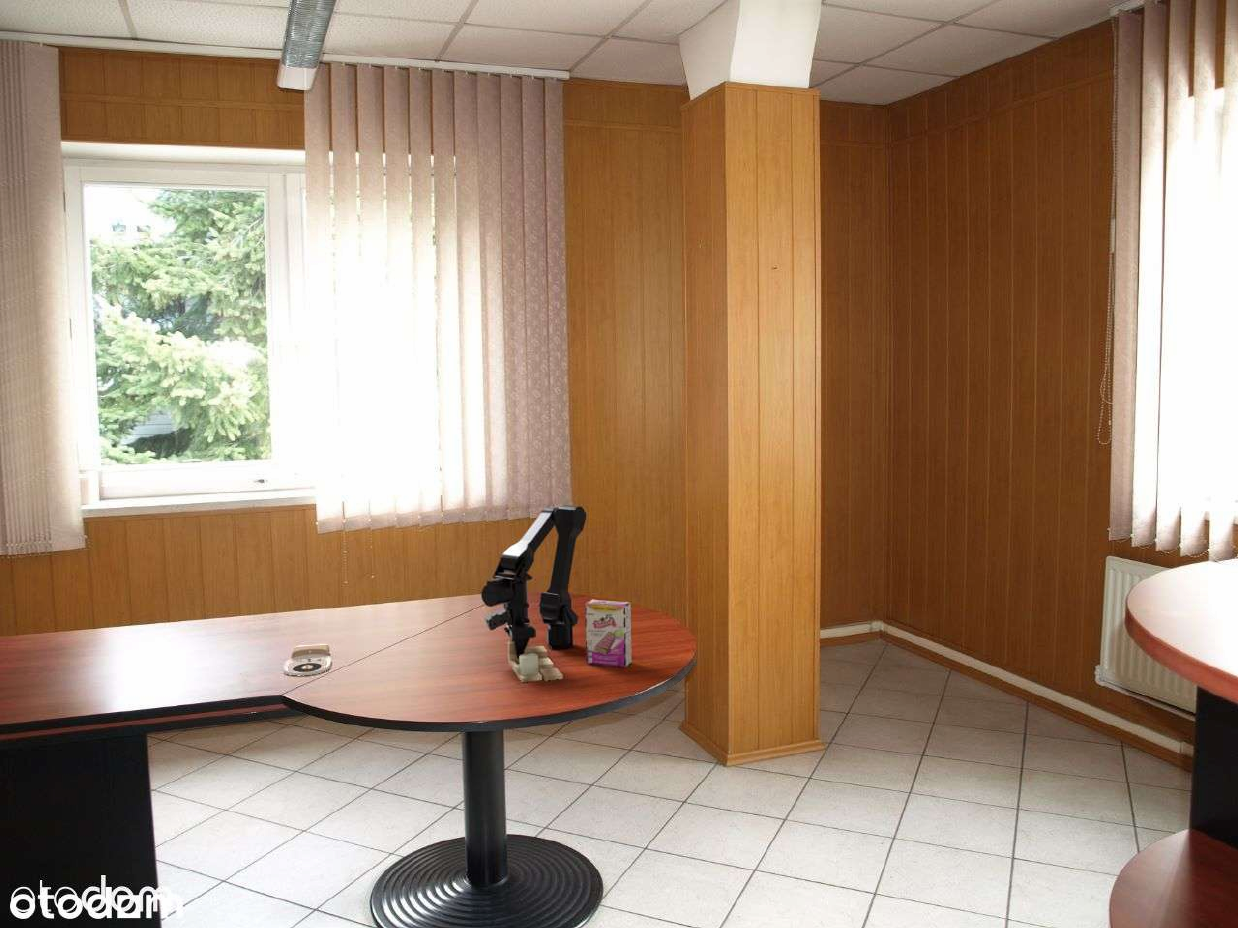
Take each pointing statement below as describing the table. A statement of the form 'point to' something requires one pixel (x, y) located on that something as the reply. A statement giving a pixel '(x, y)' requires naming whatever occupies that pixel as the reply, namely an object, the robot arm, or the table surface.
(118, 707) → the table surface
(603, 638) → the candy bar box
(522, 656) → the mint rounded cylinder
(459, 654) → the table surface
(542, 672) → the broken strip
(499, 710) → the table surface
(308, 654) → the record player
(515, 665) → the beige long blocky piece
